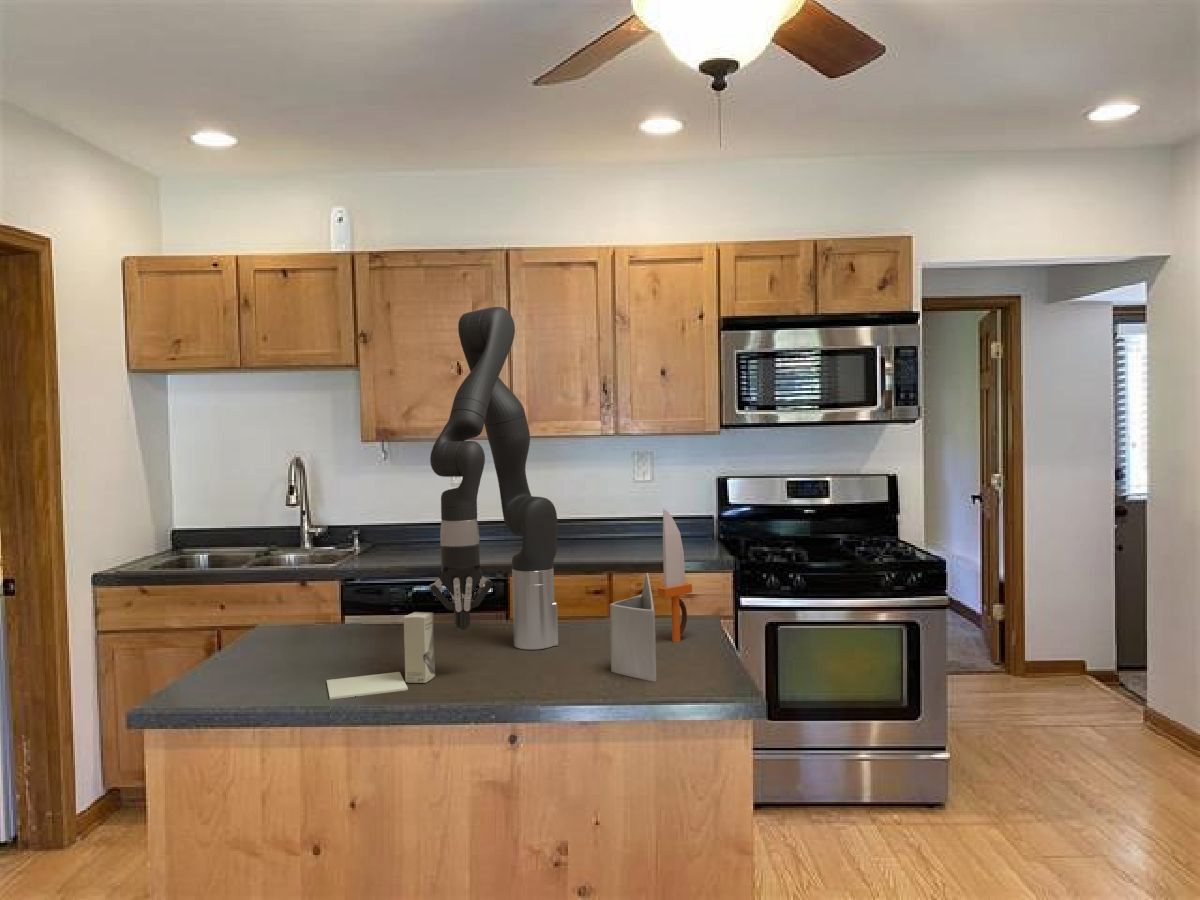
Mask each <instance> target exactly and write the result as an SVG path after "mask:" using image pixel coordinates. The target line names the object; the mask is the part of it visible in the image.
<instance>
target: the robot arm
mask: <svg viewBox="0 0 1200 900" xmlns="http://www.w3.org/2000/svg"><path fill="white" fill-rule="evenodd" d="M457 327H458V329H457V331H458V332H457V333H458V337H459V341H460V345H461V349H462V351H463V355H464V358H465V361H466V363H467V366H468V369H469V374H468V375H467V376H466V377H465V378H464V380H463V381H462V382H461V384H460V386H459V387H458V389H457V391H456V393H455V396H454V399H453V401H452V406H451V410H450V415H449V418H448V420H447V423H445V425H444V428H443V429H442V430H441V432H440V433H439V436H438V437H437V439H436V441H435V442H434V443H433V447H432V449H431V452H430V457H429V459H430V461H429V462H430V466H431V469H432V471H433V473H434V474H436V475H437V476H439V477H444V478H445V477H447V478H451V477H452V478H456V477H457V478H459V477H462V479H461V482H460V483H459V486H458V487H454V488H450V489H447V490H444V491H443V492H442V493H441V495H440V513H441V515H440V517H441V518H440V519H441V520H440V521H441V523H440V531H439V532H440V562H441V563H440V564H441V565H440V566H441V569H440V572H439V574H438V579H437V580H436V581H434V583H430V584H429V586H428V588H429V590H430V591H431V592H432V593H433V595H435V597H436V599H438V600H439V601H440V603H441V604H442V605H443V606H444V607H445V609H447V610H449V611H450V610H451V611H453V613H454V614H453V616H454V617H453V618H454V620H453V621H454V626H455V628H457V629H458V631H459V632H461V631H467V630H468V628H469V627H470V626H471V610H472V609H475V608H477V607H479V605H481V603H482V602H483V600H484V598H485V597H486V596H487V594H488V593H489V592H490V590H491V589H492V587H493V586H494V582H493V581H492V580H490V579H489V578H486V577H485V576H483V575H484V574H483V571H482V569H481V566H480V565H481V563H480V559H481V558H480V528H479V522H478V493H479V488H480V483H481V479H482V476H483V472H484V469H485V468H484V467H485V465H486V464H485V463H486V454H485V452H484V449H483V447H482V445H481V444H480V443H479V442H477V441H475V440H471V439H474V438H476V437H478V436H480V435H481V434H482V431H483V430H485V432H486V436H487V437H486V438H487V440H488V443H489V447H490V450H491V451H490V452H491V455H492V459H493V465H494V470H495V473H496V477H497V481H498V488H499V496H500V503H501V511H502V517H503V521H504V524H505V527H506V529H507V530H508V531H509V532H510V533H511V534H512V535H514V536H517V537H521V538H522V547H521V550H520V552H518V553H516V554H515V555H513V556H512V558H511V576H512V577H511V578H512V613H513V615H512V618H513V619H512V620H513V623H512V624H513V646H514V647H515V648H516V649H521V650H542V649H548V648H551V647H554V646H555V647H556V646H559V632H558V631H559V628H558V627H559V626H558V625H559V623H558V622H559V621H558V619H559V617H558V603H557V602H556V601H555V580H554V577H555V576H554V573H555V572H554V561H555V558H556V555H557V551H558V549H557V548H558V514H557V510H556V507H555V504H554V503H553V502H552V501H551V500H550V499H549V498H546V497H543V496H535V495H534V496H532V494H531V491H530V488H529V484H528V483H529V482H528V478H527V471H526V466H527V459H528V454H529V450H530V444H531V434H530V428H529V424H528V419H527V415H526V411H525V408H524V406H523V404H522V402H521V400H519V398H518V397H517V396H516V395H515V394H514V392H513V391H512V390H511V389H510V388H509V387H508V386H507V385H506V384H505V383H504V382H503V380H502V379H501V378H500V377H499V376H500V374H501V371H502V369H503V367H504V365H505V363H506V360H507V358H508V355H509V353H510V350H511V348H512V346H513V343H514V339H515V334H516V333H515V332H516V326H515V321H514V319H513V316H512V314H511V313H510V311H509V310H508V309H507V308H505V307H503V306H494V307H493V306H491V307H488V308H483V309H478V310H472V311H469V312H465V313H463V314H462V315H461V316H460V317H459V319H458V326H457ZM484 428H485V429H484ZM477 585H478V586H479V588H478V590H477V591H476V593H475V594H474V595H473V597H472V592H473V591H474V590H475V589H476V588H477ZM443 586H444V587H445V588H446V589H447V591H448V592H449V593H450V594H451V598H452V599H451V600H452V601H449V599H448V598H447V597H446V596H445V594H443V593H442V592H443V589H444V588H443Z"/></svg>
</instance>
